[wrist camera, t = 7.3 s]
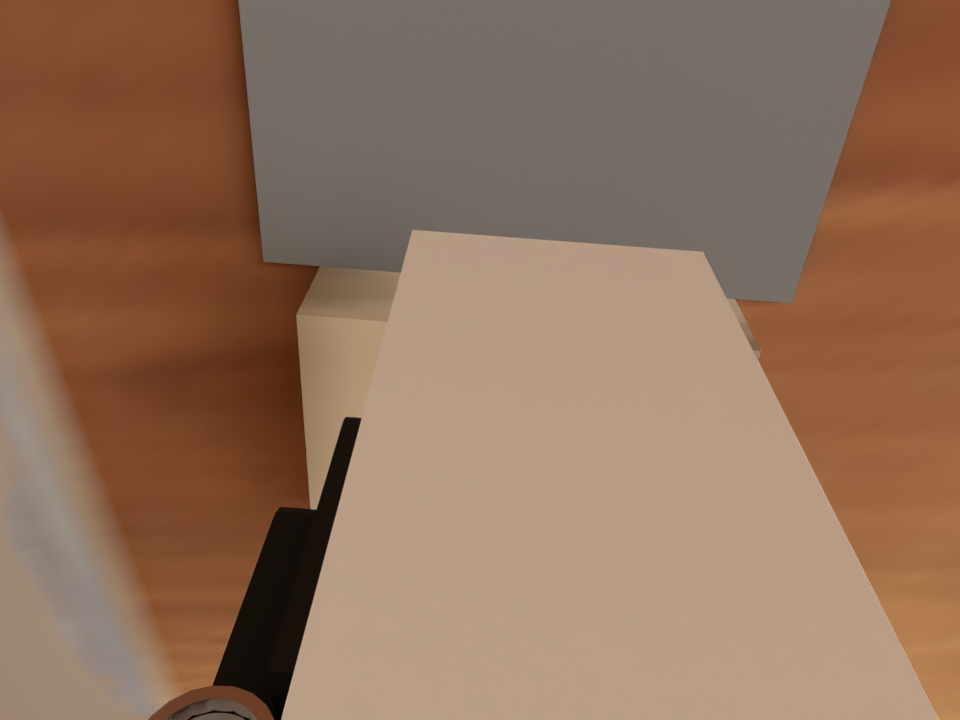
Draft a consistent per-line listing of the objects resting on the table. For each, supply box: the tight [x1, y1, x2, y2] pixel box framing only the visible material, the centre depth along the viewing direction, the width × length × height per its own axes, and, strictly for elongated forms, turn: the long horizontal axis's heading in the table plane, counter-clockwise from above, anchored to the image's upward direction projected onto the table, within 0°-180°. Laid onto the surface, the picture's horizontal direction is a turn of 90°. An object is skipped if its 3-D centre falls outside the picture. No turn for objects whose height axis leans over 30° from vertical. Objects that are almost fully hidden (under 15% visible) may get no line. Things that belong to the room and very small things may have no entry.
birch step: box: [296, 266, 761, 510], centre depth 22 cm, size 11×9×3 cm
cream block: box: [281, 230, 939, 720], centre depth 9 cm, size 4×7×9 cm, turn 176°
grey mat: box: [238, 0, 891, 303], centre depth 18 cm, size 14×10×1 cm
